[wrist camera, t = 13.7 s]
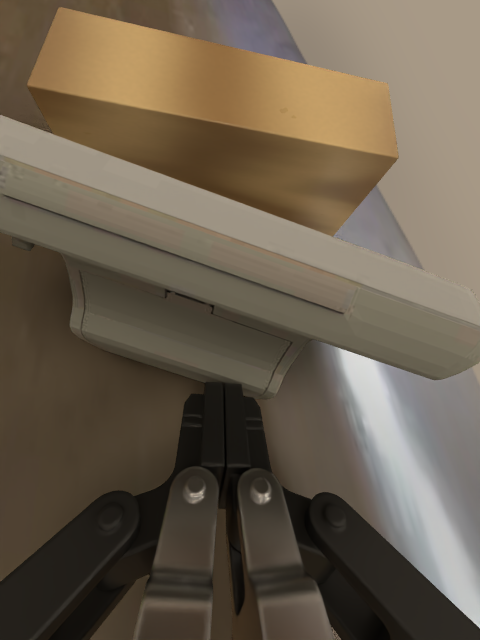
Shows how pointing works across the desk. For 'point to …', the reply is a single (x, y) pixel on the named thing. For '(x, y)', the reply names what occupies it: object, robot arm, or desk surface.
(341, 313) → the digital clock
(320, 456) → the desk surface
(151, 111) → the maple block
